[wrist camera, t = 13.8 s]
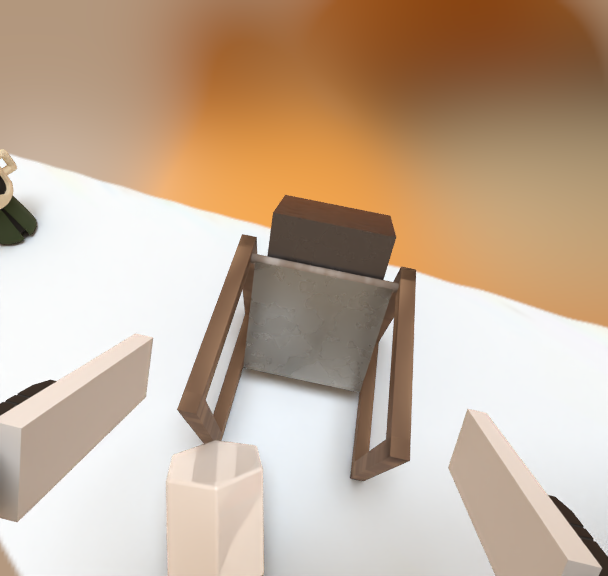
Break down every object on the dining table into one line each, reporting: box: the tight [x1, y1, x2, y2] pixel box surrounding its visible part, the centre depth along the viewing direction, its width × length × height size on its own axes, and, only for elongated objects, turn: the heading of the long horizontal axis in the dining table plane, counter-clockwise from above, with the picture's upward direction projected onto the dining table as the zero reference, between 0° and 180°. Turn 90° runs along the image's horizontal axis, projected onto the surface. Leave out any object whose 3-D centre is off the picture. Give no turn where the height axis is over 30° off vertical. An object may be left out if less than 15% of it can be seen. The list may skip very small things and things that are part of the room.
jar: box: [166, 440, 264, 576], centre depth 33 cm, size 9×8×12 cm
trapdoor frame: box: [177, 234, 416, 481], centre depth 40 cm, size 18×18×16 cm
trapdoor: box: [243, 195, 396, 393], centre depth 43 cm, size 14×19×8 cm
